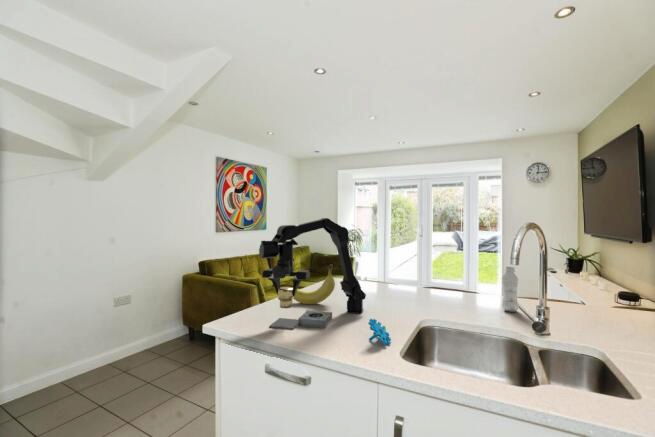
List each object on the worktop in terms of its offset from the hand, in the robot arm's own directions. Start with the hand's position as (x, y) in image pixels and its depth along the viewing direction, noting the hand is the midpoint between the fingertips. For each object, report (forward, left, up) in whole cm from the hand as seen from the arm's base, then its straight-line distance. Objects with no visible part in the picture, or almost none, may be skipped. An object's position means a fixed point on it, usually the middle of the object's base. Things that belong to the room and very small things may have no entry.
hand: (286, 295), depth 125 cm
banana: (-1, -31, -12) cm, 33 cm away
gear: (-38, +8, -12) cm, 41 cm away
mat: (0, 0, -12) cm, 12 cm away
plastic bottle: (-92, -42, -12) cm, 102 cm away
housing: (-11, -5, -12) cm, 17 cm away
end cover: (0, 0, -4) cm, 4 cm away
